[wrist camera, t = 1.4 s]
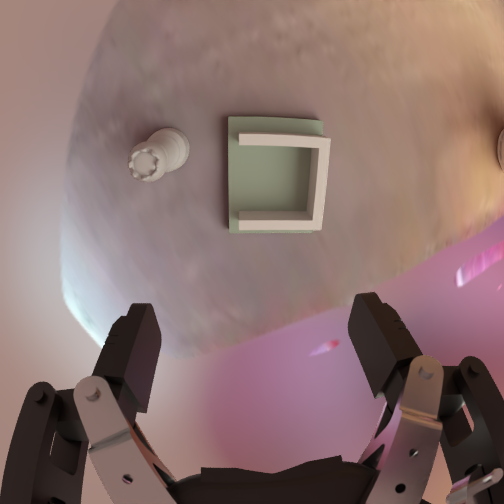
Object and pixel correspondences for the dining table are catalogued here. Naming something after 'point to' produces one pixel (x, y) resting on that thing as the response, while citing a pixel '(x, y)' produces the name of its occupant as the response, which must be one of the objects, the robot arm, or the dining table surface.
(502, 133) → the supplement can
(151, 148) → the rook chess piece
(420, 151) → the dining table surface
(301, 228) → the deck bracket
